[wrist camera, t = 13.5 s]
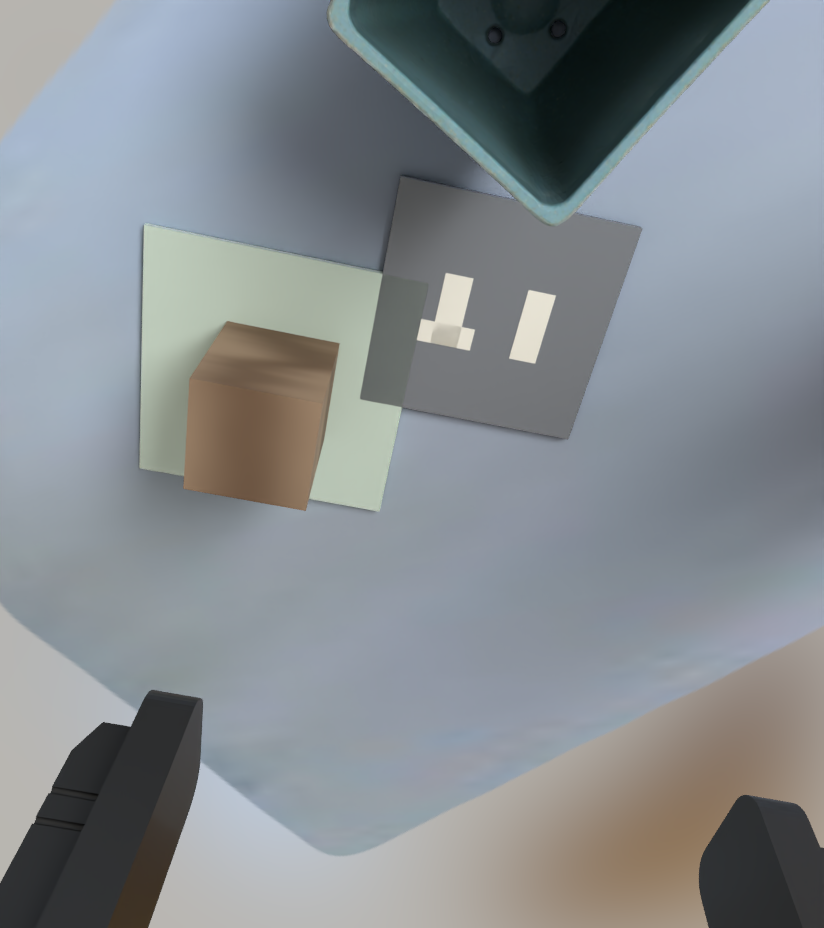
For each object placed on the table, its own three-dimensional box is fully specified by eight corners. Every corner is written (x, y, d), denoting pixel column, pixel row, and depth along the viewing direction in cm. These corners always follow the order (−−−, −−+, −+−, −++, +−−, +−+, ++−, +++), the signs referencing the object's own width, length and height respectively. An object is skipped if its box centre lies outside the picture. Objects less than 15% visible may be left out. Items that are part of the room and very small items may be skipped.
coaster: (428, 281, 33) (428, 283, 32) (379, 508, 39) (379, 511, 39) (146, 223, 32) (143, 224, 32) (141, 465, 38) (139, 468, 38)
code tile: (640, 226, 31) (642, 228, 31) (567, 436, 36) (568, 439, 36) (400, 174, 31) (400, 176, 30) (360, 396, 36) (359, 399, 35)
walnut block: (339, 343, 34) (322, 403, 29) (324, 439, 36) (305, 510, 31) (227, 321, 34) (189, 378, 28) (219, 419, 36) (183, 488, 31)
